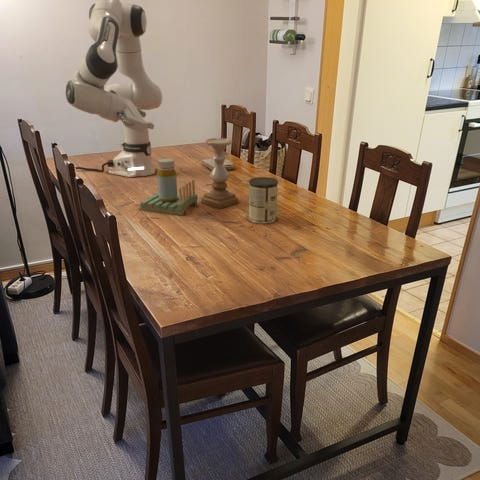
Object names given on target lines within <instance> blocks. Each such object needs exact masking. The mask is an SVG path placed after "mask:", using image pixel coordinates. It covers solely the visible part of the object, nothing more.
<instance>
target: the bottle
mask: <svg viewBox="0 0 480 480" xmlns="http://www.w3.org/2000/svg"><path fill="white" fill-rule="evenodd" d="M156 177H157V187H158V193H159V199H160V200H161V201H163V202H173V201H176V199H177V195H178V183H177V172H176V169H175V159H173V158H170V157H164V158H159V159H157V176H156Z"/></svg>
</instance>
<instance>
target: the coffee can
mask: <svg viewBox="0 0 480 480" xmlns="http://www.w3.org/2000/svg"><path fill="white" fill-rule="evenodd" d="M248 183H249V184H248V221H250V222H252V223H254V224H255V223H256V224H263V225H264V224H271V223H274V222H275V221H277V205H278V204H277V203H278V202H277V201H278V184H279V180H278V179H276V178H273V177H268V176H267V177H266V176H259V177H253V178H250V179H249V180H248Z"/></svg>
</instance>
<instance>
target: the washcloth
mask: <svg viewBox="0 0 480 480" xmlns="http://www.w3.org/2000/svg"><path fill="white" fill-rule="evenodd" d="M200 163H201V164H202V165H203V166H205V167H207V168H208V169H209V170H211V171H212V170H213V168H214V166H215V162H214V160H213V158H205V159H204V158H203V159H202V160H201V162H200ZM224 167H225V169H226V170H227V171H229V170H230V171H231V170H234V169H235V167H234V163H233V162H232V161H231V160H229V159H227V158H226V159H225V161H224Z"/></svg>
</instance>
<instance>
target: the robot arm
mask: <svg viewBox="0 0 480 480" xmlns="http://www.w3.org/2000/svg"><path fill="white" fill-rule="evenodd" d="M147 19H148V18H147V15H146V11H145V9H143V7H142V6H141V5H138V4H129V3H124V2H121V0H96V3H93V4H91V6H90V8H89V11H88V20H89V21H88V34H89V35H90V37H91V39H92V40H93V41H94V43H93V44H92V45H91V46H90V47H89V48H88V50H87V52H86V54H85V56H84V57H83V59H82V61H81V62H80V64H79V65H78V67H77V68H76V70H75V72H74V75H73V77H72V78H71V79H69V81H67V83H66V85H65V99H66V101H67V102H68V104H69V105H71V106H72V107H73V108H75V109H77V110H79V111H82V112H85V113H88V114H90V115H97V116H99V117H100V118H102V119H104V120H107V121H111V122H114V123H118V122H119V121H120V122H121V125H122V128H123V133H124V140H125V141H124V142H123V143H121V144H120V148H122V150H121V151H120V152H119V153H118V154H117V155H116V156H114V158H113V159H108V160H107V162H104V163H102V165H101V169H98V168H91V167H90V168H89V167H82V166H75V167H74V168H76V169H75V170H84V171H95V172H99V173H103V172H104V171H105V166H107V167H108V168H109V169H108V174H112V175H117V176H121V177H127V178H137V177H146V176H151V175H153V174H156V168H155V166H154V163H153V158H152V143H151V141H150V130H153V129H154V128H155V124H154V123H153V122H151V121H146V119H144V118H146V116H147V112H146V111H150V110H155V109H159V108H160V107H161V105H162V103H163V92H162V90H161V88H160V87H159V86H158V85H157V84H156V83H155V82H153V81H152V80H151V79H150V77H149V75H148V74H147V72H146V70H145V66H144V62H143V54H142V46H141V45H142V43H141V39H140V37H141V36H143V35H144V34H145V33H146V31H147V26H148V21H147ZM117 70H118V72H119V73H120V74H122V75H123V76H125V77H127V78H129V79H130V80H131V81H132V82H115V83H111V84H107V83H108V81H109V80H110V78H111V77H112V76H113V75H114V74H115V73H116V72H117ZM106 84H107V85H106Z"/></svg>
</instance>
